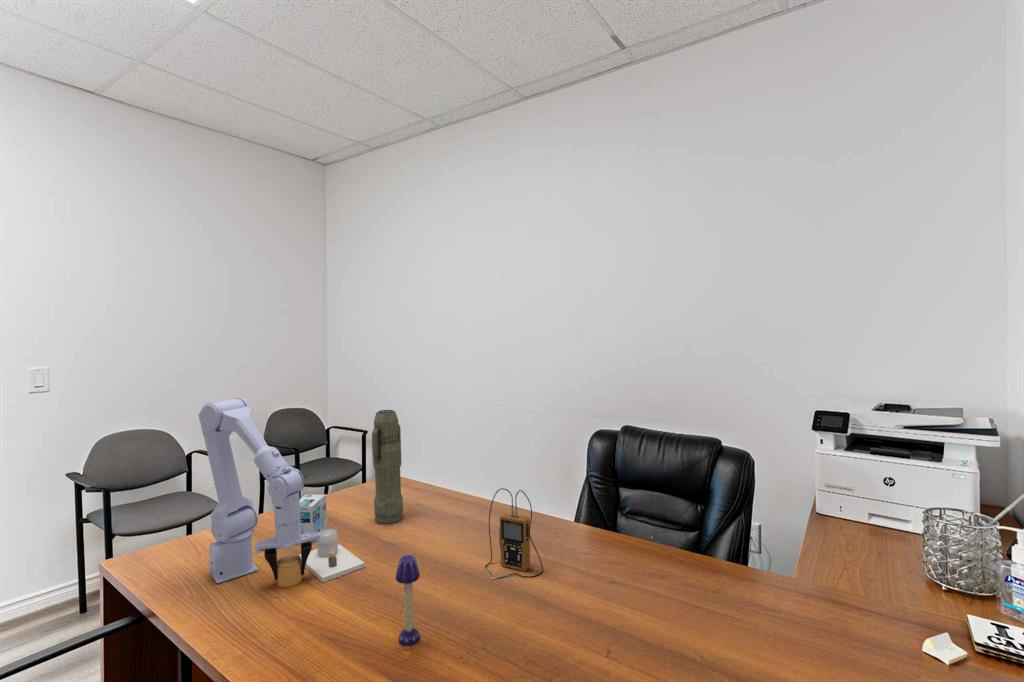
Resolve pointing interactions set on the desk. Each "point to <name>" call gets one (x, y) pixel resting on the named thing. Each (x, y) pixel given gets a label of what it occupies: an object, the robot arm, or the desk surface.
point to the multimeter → (514, 540)
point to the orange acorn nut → (289, 570)
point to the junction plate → (331, 558)
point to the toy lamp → (408, 598)
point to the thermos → (387, 467)
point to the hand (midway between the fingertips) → (289, 575)
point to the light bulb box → (313, 513)
